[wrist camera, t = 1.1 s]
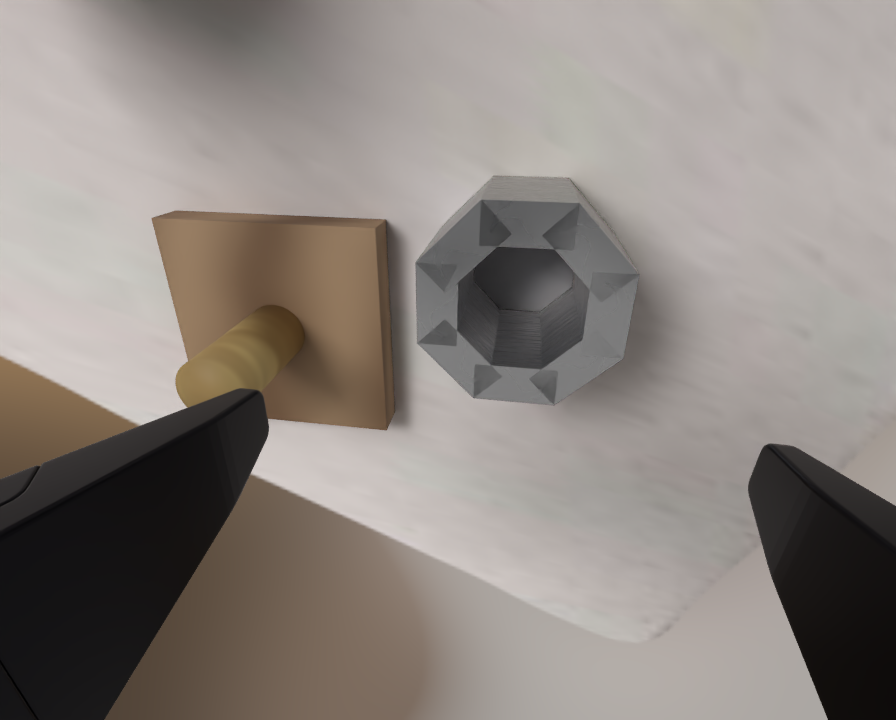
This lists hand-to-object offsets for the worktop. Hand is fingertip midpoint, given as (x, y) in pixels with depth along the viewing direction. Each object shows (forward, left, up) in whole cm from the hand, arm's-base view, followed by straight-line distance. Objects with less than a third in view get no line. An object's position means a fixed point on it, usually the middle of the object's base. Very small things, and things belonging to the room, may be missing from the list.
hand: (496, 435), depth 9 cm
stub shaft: (+10, +3, -12) cm, 16 cm away
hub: (0, 0, -12) cm, 12 cm away
